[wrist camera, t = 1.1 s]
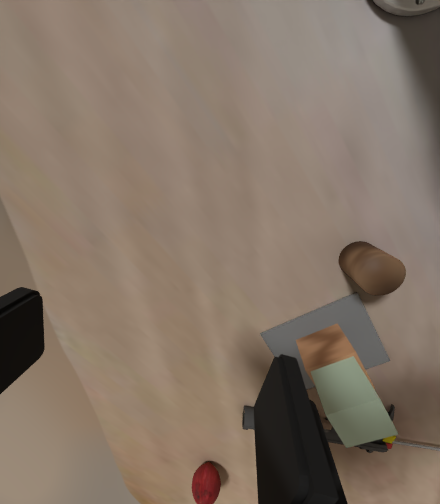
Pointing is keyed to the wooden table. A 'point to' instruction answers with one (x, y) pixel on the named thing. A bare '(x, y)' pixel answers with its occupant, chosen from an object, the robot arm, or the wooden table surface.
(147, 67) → the wooden table surface
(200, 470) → the onion
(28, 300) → the robot arm
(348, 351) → the tower base
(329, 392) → the tower mid
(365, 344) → the mat
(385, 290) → the dowel
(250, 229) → the wooden table surface
